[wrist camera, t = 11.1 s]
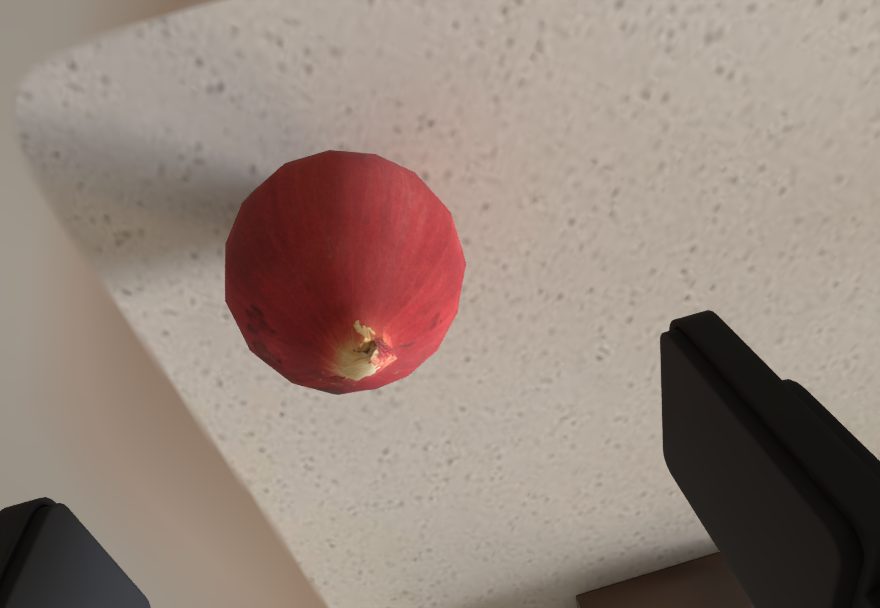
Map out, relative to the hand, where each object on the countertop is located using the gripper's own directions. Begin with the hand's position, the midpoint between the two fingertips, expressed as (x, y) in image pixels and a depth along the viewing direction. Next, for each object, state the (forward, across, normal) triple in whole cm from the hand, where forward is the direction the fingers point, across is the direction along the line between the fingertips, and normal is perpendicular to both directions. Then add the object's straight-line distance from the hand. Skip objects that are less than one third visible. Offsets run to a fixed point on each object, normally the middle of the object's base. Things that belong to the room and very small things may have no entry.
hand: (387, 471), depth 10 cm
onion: (+11, 0, 0) cm, 11 cm away
